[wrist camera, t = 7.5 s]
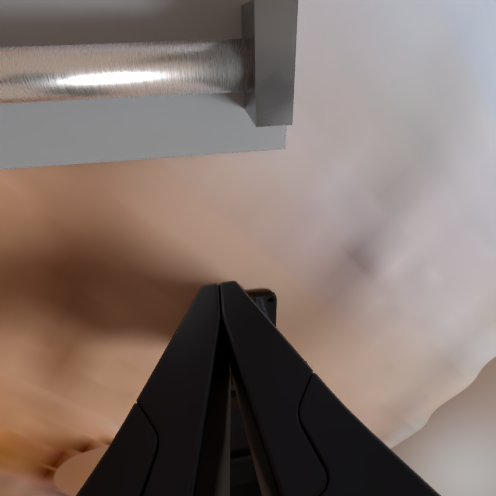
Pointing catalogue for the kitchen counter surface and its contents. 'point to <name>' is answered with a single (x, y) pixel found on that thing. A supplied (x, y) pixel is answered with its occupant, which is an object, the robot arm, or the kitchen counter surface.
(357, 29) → the kitchen counter surface
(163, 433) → the robot arm
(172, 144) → the base board
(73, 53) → the rail
